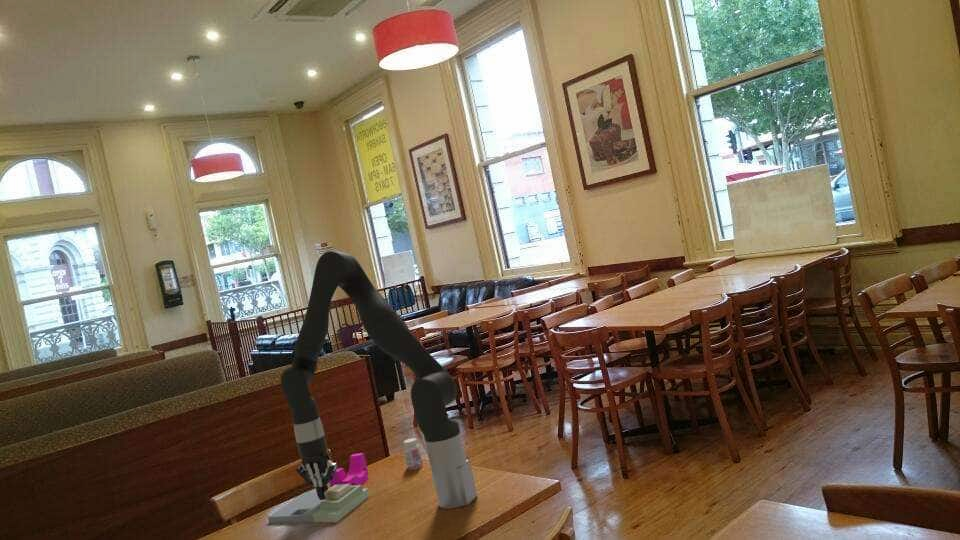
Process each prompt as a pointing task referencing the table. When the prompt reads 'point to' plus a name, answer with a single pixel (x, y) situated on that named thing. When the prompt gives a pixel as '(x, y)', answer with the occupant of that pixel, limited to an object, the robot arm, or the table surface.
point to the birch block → (337, 492)
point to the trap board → (319, 507)
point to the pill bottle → (412, 454)
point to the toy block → (352, 472)
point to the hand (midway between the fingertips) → (324, 498)
